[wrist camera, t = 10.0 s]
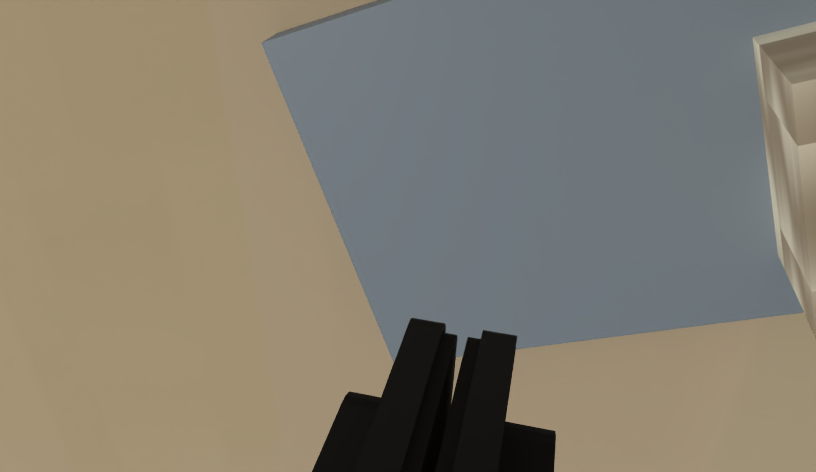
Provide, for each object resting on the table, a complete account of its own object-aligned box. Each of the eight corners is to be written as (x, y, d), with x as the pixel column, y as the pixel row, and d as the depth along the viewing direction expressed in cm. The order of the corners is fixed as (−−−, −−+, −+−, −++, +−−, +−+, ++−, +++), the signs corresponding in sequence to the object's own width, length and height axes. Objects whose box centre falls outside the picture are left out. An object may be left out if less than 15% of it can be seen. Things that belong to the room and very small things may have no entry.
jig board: (276, 33, 27) (179, 92, 20) (1146, -252, 18) (1454, -303, 12) (402, 344, 33) (356, 465, 26) (1100, 247, 24) (1285, 394, 18)
